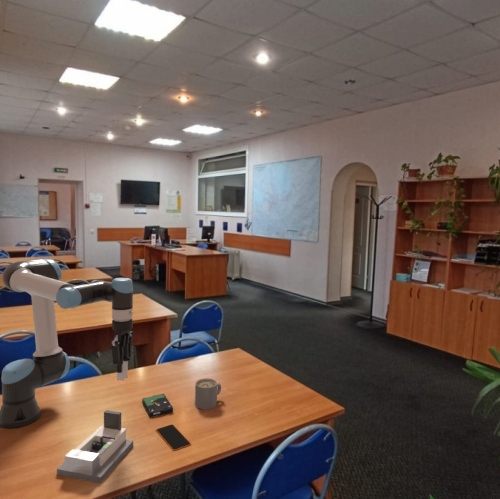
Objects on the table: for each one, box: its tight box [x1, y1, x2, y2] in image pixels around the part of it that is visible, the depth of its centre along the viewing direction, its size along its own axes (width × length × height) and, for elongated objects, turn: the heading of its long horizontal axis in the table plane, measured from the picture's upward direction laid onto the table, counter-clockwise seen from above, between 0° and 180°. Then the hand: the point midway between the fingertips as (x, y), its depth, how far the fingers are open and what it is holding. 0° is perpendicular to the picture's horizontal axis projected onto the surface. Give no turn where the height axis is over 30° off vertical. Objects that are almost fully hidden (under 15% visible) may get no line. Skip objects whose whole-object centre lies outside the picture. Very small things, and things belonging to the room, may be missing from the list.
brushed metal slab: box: [64, 448, 99, 476], centre depth 129 cm, size 10×4×5 cm, turn 78°
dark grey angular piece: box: [92, 435, 115, 450], centre depth 140 cm, size 8×2×5 cm, turn 78°
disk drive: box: [141, 393, 174, 418], centre depth 176 cm, size 10×3×15 cm
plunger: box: [95, 409, 122, 443], centre depth 144 cm, size 6×7×10 cm
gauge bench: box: [56, 424, 134, 484], centre depth 138 cm, size 16×21×6 cm
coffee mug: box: [194, 377, 222, 410], centre depth 181 cm, size 13×10×10 cm
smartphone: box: [155, 423, 192, 452], centre depth 153 cm, size 8×17×1 cm, turn 36°
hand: (122, 378), depth 152 cm, fingers open, 2 cm apart
